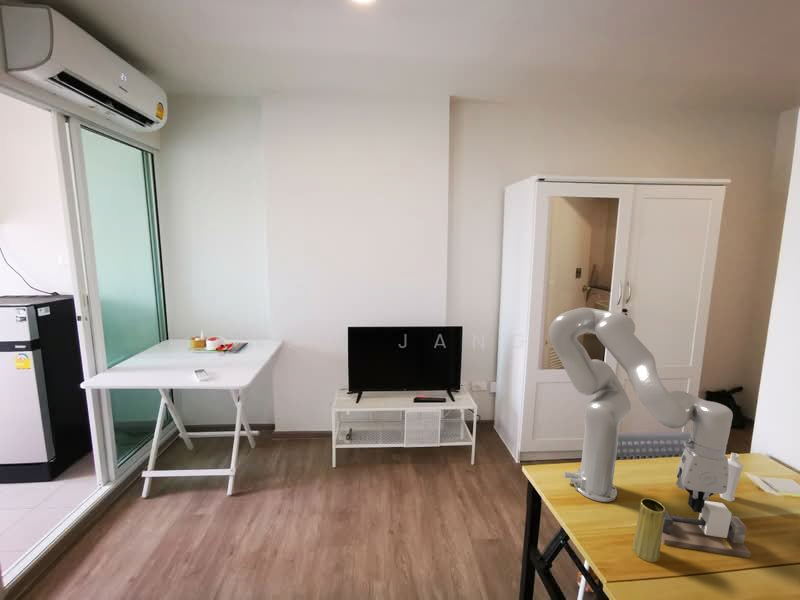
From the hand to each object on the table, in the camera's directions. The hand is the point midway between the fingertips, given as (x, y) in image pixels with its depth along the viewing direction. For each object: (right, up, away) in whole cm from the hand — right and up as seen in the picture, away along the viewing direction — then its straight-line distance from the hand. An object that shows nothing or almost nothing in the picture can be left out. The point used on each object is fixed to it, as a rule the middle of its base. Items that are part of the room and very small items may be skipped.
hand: (694, 508), depth 105 cm
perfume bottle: (+23, -6, +17) cm, 29 cm away
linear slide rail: (+1, -8, +1) cm, 9 cm away
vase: (-16, -9, -4) cm, 19 cm away
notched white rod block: (+5, -6, 0) cm, 8 cm away
